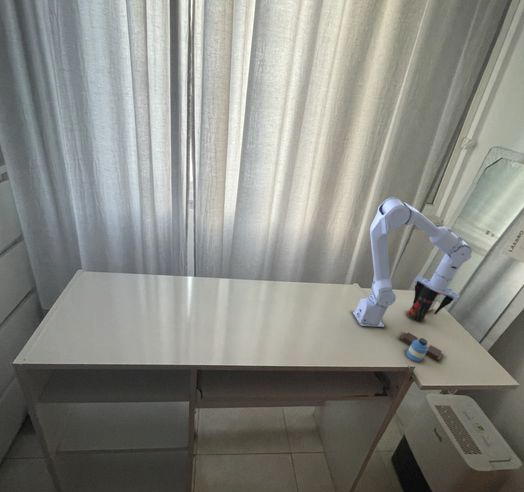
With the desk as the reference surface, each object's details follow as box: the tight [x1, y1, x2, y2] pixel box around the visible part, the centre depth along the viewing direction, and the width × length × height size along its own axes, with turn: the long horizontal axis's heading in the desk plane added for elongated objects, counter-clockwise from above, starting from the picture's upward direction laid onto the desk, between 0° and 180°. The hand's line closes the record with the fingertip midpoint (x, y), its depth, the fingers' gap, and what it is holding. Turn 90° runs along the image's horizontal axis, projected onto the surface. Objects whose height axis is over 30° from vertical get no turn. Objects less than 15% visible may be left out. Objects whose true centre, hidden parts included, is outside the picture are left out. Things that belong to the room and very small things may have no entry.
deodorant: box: [407, 287, 438, 322], centre depth 122 cm, size 6×6×15 cm
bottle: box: [406, 337, 429, 363], centre depth 103 cm, size 5×5×7 cm
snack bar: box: [399, 332, 444, 362], centre depth 109 cm, size 14×4×2 cm, turn 49°
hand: (425, 307), depth 113 cm, fingers open, 7 cm apart
